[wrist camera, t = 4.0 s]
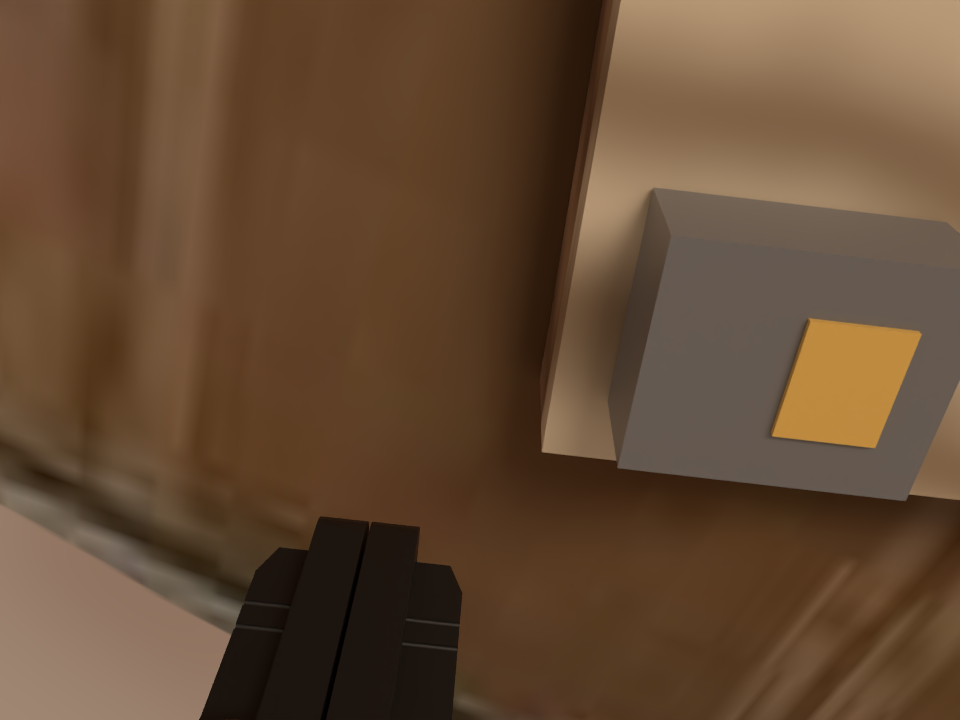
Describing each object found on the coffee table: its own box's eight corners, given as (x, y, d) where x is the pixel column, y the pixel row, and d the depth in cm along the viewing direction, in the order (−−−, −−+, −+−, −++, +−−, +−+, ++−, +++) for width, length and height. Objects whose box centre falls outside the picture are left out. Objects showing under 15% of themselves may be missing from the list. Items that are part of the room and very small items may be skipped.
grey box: (653, 187, 21) (672, 237, 18) (946, 221, 21) (1010, 278, 18) (607, 400, 24) (618, 472, 21) (864, 430, 24) (907, 505, 21)
